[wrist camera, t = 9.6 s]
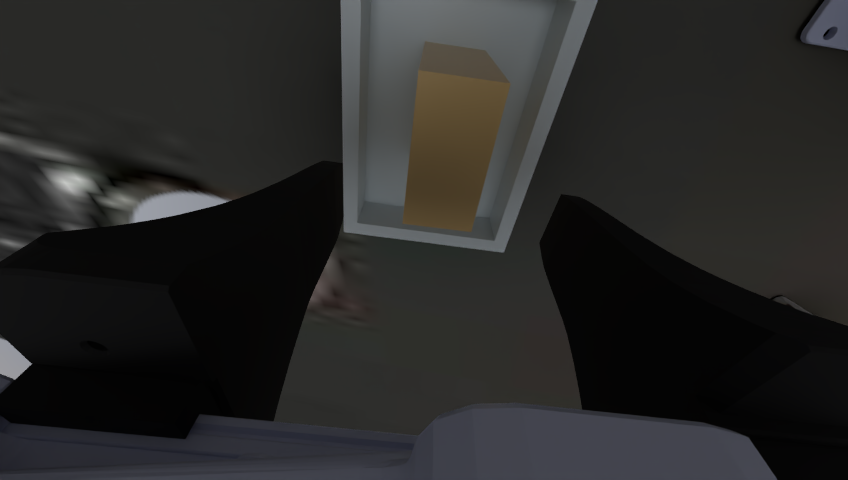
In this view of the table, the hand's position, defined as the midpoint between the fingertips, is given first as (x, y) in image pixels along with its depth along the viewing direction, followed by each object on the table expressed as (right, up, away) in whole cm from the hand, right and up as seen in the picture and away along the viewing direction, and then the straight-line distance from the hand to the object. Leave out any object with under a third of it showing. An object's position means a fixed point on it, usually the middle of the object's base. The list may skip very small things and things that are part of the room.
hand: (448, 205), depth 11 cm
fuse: (0, +6, +7) cm, 9 cm away
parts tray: (0, +6, +8) cm, 10 cm away
